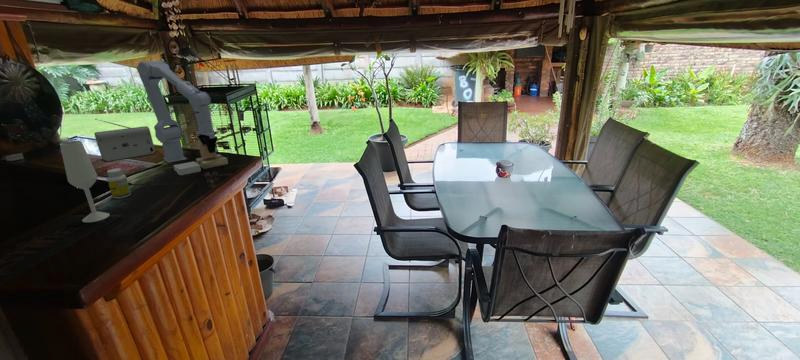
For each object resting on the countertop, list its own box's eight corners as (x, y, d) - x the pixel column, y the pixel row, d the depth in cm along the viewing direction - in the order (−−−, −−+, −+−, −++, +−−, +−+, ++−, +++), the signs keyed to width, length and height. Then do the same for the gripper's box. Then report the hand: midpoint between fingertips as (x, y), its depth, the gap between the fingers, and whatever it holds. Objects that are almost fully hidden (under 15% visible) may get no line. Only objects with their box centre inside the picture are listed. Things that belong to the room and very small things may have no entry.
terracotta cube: (201, 156, 159) (198, 145, 157) (212, 154, 162) (210, 143, 160) (205, 158, 155) (202, 147, 154) (216, 156, 159) (214, 145, 157)
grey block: (174, 171, 151) (173, 165, 150) (195, 167, 157) (194, 161, 156) (180, 176, 146) (178, 169, 145) (201, 172, 151) (199, 165, 150)
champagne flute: (87, 224, 106) (60, 147, 97) (78, 219, 109) (51, 143, 101) (113, 215, 111) (89, 141, 103) (104, 211, 115) (80, 138, 106)
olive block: (197, 164, 161) (195, 158, 160) (219, 160, 167) (218, 154, 166) (204, 169, 154) (203, 163, 153) (228, 164, 161) (227, 158, 160)
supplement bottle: (109, 197, 125) (101, 171, 122) (126, 192, 130) (118, 166, 126) (117, 200, 123) (109, 173, 119) (134, 194, 127) (127, 169, 124)
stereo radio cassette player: (154, 150, 180) (144, 111, 173) (157, 154, 175) (147, 113, 168) (102, 159, 167) (88, 117, 160) (103, 163, 162) (90, 119, 154)
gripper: (188, 120, 156) (195, 149, 161) (199, 125, 146) (206, 156, 151) (205, 118, 160) (211, 146, 165) (217, 122, 151) (223, 153, 156)
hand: (210, 151), depth 158 cm, fingers closed on terracotta cube, 5 cm apart
